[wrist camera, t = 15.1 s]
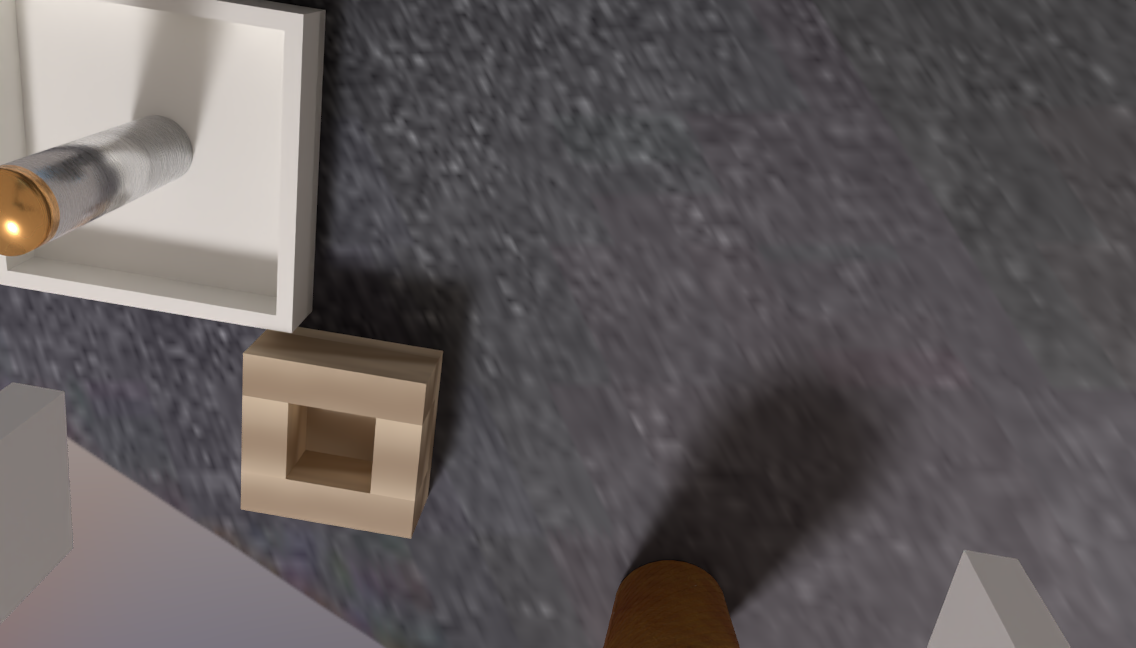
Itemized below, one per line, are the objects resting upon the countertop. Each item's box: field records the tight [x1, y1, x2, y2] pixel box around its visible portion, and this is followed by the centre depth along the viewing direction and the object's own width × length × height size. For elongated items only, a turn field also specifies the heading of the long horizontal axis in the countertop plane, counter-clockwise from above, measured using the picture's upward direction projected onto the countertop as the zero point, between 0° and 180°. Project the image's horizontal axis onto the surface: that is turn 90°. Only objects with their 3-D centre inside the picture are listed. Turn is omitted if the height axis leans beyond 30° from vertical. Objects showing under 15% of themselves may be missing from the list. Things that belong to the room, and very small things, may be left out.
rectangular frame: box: [0, 0, 326, 333], centre depth 45 cm, size 15×15×3 cm
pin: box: [0, 115, 193, 256], centre depth 40 cm, size 3×3×12 cm
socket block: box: [241, 327, 443, 538], centre depth 49 cm, size 9×9×4 cm
